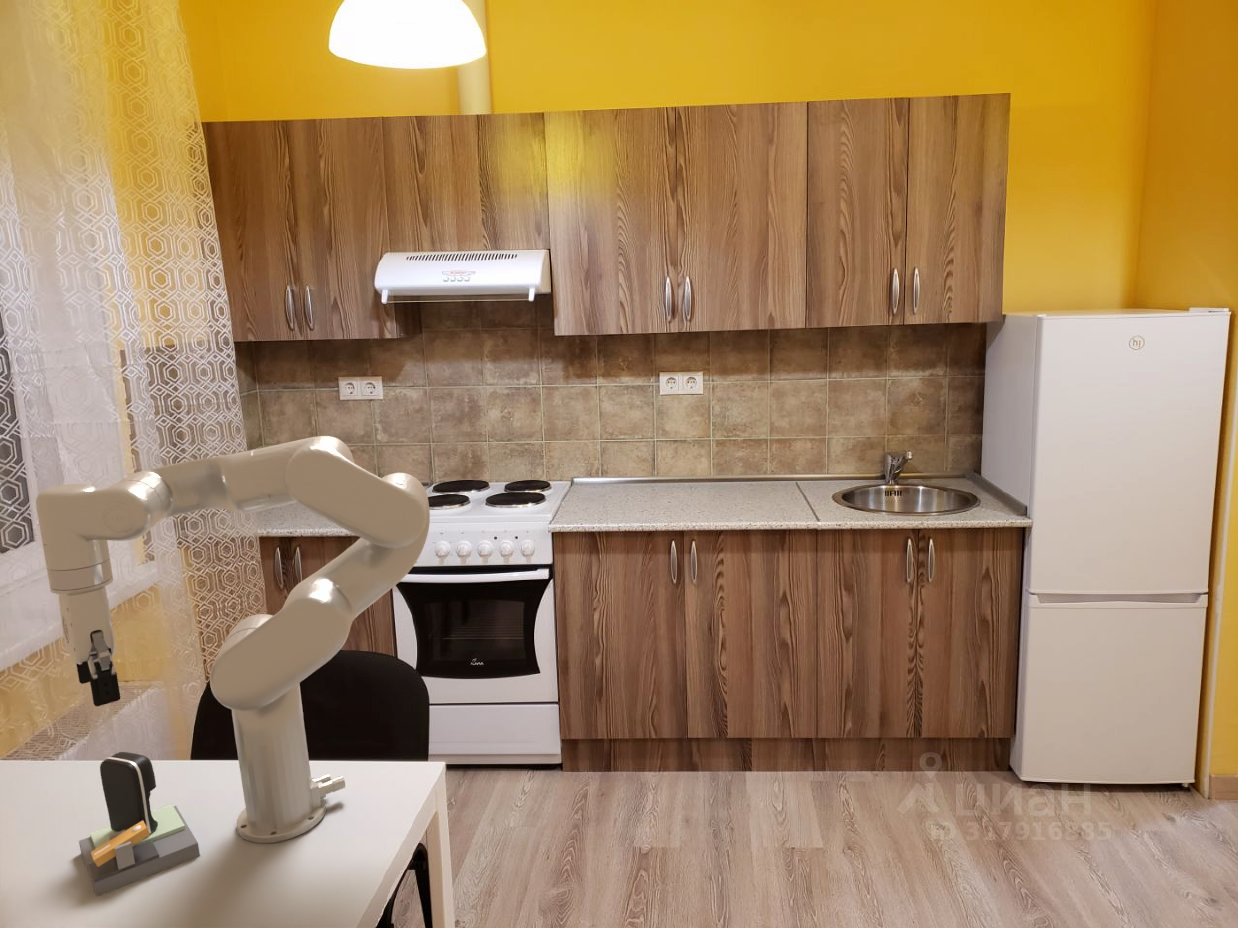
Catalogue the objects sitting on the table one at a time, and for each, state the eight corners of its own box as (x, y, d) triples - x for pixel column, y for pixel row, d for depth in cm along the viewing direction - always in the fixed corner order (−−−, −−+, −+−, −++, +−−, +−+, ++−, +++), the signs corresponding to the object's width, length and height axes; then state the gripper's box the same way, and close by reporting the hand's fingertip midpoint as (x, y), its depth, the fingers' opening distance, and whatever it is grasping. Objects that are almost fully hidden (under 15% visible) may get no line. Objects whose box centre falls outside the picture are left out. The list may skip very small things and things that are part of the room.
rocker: (146, 826, 130) (142, 819, 130) (150, 834, 128) (146, 827, 128) (94, 858, 126) (90, 851, 126) (97, 866, 124) (93, 859, 124)
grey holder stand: (177, 817, 141) (172, 784, 140) (199, 855, 132) (194, 819, 131) (81, 853, 134) (74, 818, 133) (97, 895, 124) (89, 858, 123)
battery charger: (167, 824, 135) (155, 752, 133) (145, 839, 132) (133, 765, 129) (131, 816, 138) (118, 745, 135) (109, 831, 134) (95, 758, 132)
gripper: (38, 567, 131) (58, 680, 135) (61, 597, 118) (82, 721, 122) (97, 555, 136) (115, 665, 140) (125, 583, 123) (144, 703, 127)
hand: (99, 691), depth 131 cm, fingers open, 9 cm apart
